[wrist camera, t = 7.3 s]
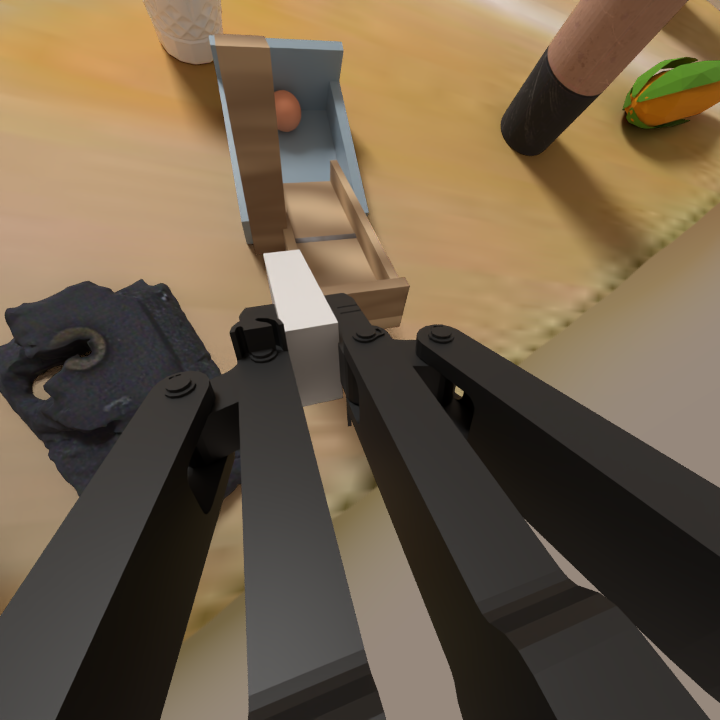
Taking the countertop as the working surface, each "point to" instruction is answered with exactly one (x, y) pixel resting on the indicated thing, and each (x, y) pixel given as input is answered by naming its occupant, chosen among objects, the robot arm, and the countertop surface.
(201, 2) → the white cup
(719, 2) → the milk
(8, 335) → the countertop surface
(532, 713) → the robot arm
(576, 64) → the travel mug
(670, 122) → the corn
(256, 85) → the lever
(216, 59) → the bin
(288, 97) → the ball
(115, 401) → the dark slate chunk
